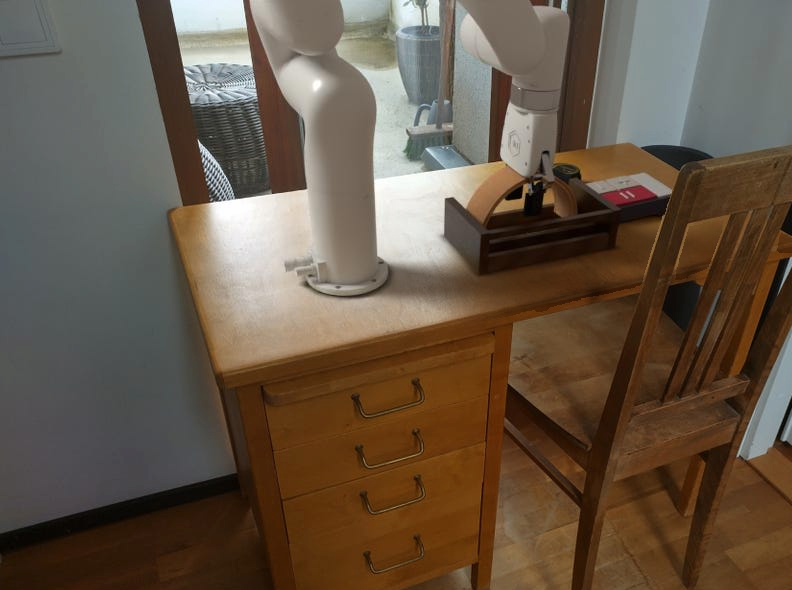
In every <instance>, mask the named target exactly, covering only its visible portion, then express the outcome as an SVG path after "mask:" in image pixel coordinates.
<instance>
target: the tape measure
mask: <svg viewBox="0 0 792 590" xmlns="http://www.w3.org/2000/svg"><path fill="white" fill-rule="evenodd" d="M552 171H553V175H554V176H555V177H557V178H559V179H560V180H562V181H563V182H565V183H566V184H567V185H569V179H572V178H578V179H579V180H581V181H582V173H581V169H580V168H579V167H578V166H577V165H574V164H572V163H569V162H557V163H554V165H553V170H552Z"/></svg>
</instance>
